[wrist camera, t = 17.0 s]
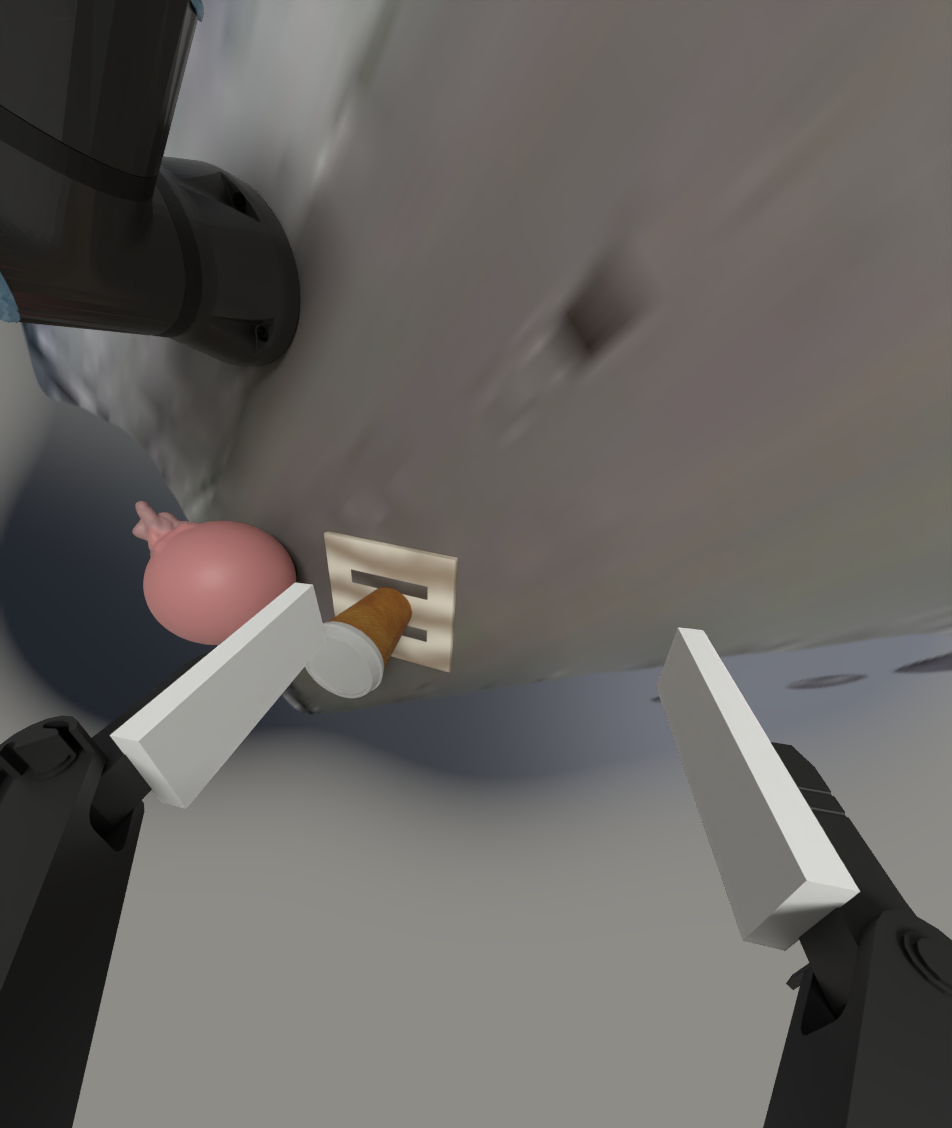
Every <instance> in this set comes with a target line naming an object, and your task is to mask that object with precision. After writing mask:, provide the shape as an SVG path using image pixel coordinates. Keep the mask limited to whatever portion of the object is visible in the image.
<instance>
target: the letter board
mask: <svg viewBox="0 0 952 1128" xmlns="http://www.w3.org/2000/svg"><path fill="white" fill-rule="evenodd" d="M324 538H325V546H326V553H327V560H328V568H329V575H330V582H331V590H332V597H333V604H334V611H335V617H336V616H337V615H339V614H340V613H342V612H343V611H345V610H346V609H348V608H349V607H351V606H352V605H354V604H355V603H357V602H358V601H360V600H361V599H363V598H364V597H366V596H367V595H369V594H370V593H372V592H373V591H374V590H376V589H378V588H381V587H389V588H392V589H395V590H397V591H398V592H400V593H401V594H403V595H404V596H405V597H406V599H407V600H408V601H409V603H410V605H411V609H412V617H411V619H410V621H409V623H408V625H407V627H406V629H405V630H404V632H403V634H402V635H401V638H400V640H399V642H398V644H397V646H396V647H395V649H394V651H393V653H392V655H391V656H392V657H395V658H399V659H402V660H406V661H410V662H413V663H417V664H420V665H424V666H428V667H431V668H435V669H438V670H442V671H445V672H450V670H451V664H452V647H453V631H454V614H455V598H456V581H457V564H458V558H456V557H451V556H446V555H441V554H437V553H432V552H427V551H422V550H417V549H412V548H407V547H402V546H397V545H393V544H388V543H383V542H378V541H373V540H368V539H363V538H358V537H353V536H349V535H344V534H339V533H334V532H329V531H327V532H326V533H324Z"/></svg>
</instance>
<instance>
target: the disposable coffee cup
mask: <svg viewBox="0 0 952 1128" xmlns="http://www.w3.org/2000/svg"><path fill="white" fill-rule="evenodd" d="M411 617H412V609H411V605H410V603H409V601H408V600H407V599H406V597H405V596H404V595H403V594H401V593H400V592H398V591H397V590H395V589H392V588H389V587H381V588H378V589H376V590H374V591H373V592H372V593H370V594H369V595H367V596H366V597H364V598H363V599H361V600H360V601H358V602H357V603H355V604H354V605H352V606H351V607H349V608H348V609H346V610H345V611H343V612H342V613H340V614H339V615H337V616H336V617H334V618H333V619H331V620H330V621H328V622H325V623H323V627H324V631H325V635H326V639H327V640H326V641H325V643H324V644H323V645H322V646H321V647H320V649H319V650H318V651H317V652H316V653H315V655H314V656H313V657H312V658H311V659H310V661H309V662H308V663H307V664H306V665H305V667H306V669H307V671H308V673H309V674H310V675H311V676H312V678H313V679H314V680H315V681H316V682H317V683H318V684H320V685H321V686H322V687H323V688H325V689H326V690H328V691H330V692H332V693H334V694H336V695H338V696H342V697H345V698H358V697H362V696H364V695H366V694H367V693H368V692H370V691H372V690H374V689H375V688H377V687H378V685H379V684H380V682H381V680H382V677H383V671H384V668H385V666H386V664H387V662H388V660H389V659H390V656H391V655H392V653H393V651H394V649H395V647H396V646H397V644H398V642H399V640H400V638H401V635H402V634H403V632H404V630H405V629H406V627H407V625H408V623H409V621H410V619H411Z"/></svg>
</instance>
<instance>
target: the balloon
mask: <svg viewBox="0 0 952 1128" xmlns="http://www.w3.org/2000/svg"><path fill="white" fill-rule="evenodd" d="M135 506H136V510H137V513H138V515H139V517H140V518H141V519H140V521H139V523H137V525H136V526H135V527H134V529H133V534H134V535H135V536H136V537H139V538H141V539H144V540H146V541H148V544H149V549H150V551H151V552H150V556H151V559H150V560H149V563H148V565H147V568H146V571H145V575H144V582H143V588H144V595H145V599H146V602H147V605H148V607H149V609H150V611H151V612H152V614H153V615H154V617H155V618H156V619H157V620H158V621H159V623H161V624H162V625H163V626H164V627H165V628H166V629H168V630H169V631H171V632H172V633H174V634H175V635H177V636H180V637H182V638H184V639H186V640H189V641H192V642H196V643H201V644H208V645H220V644H221V643H222V642H223V641H225V640H226V639H227V638H228V637H230V636H231V635H232V634H233V633H234V632H236V631H237V630H238V629H239V628H240V627H242V626H243V625H244V624H245V623H247V622H248V621H249V620H250V619H251V618H253V617H254V616H255V615H256V614H257V613H259V612H260V611H261V610H262V609H264V608H265V607H266V606H267V605H268V604H270V603H271V602H272V601H273V600H274V599H276V598H277V597H278V596H279V595H280V594H282V593H283V592H284V591H285V590H287V589H288V588H289V587H290V586H291V585H293V584H294V583H296V572H295V568H294V564H293V562H292V559H291V557H290V556H289V554H288V552H287V551H286V549H285V548H284V547H283V546H282V545H281V544H280V543H279V542H278V541H277V540H276V539H275V538H274V537H272V536H271V535H270V534H268V533H266V532H265V531H263V530H261V529H259V528H256V527H254V526H251V525H248V524H244V523H240V522H234V521H211V522H204V523H200V524H199V523H196V522H189V521H179V520H178V519H177V518H176V517H175V516H174V515H172V514H171V513H167V512H163V513H155V512H154V510H153V509H152V508H151V507H149V504H148V503H147V502H144V501H139V502H137V503H136V505H135Z"/></svg>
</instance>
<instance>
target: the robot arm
mask: <svg viewBox="0 0 952 1128" xmlns="http://www.w3.org/2000/svg"><path fill="white" fill-rule="evenodd" d="M203 15H204V9H203V4H202V1H201V0H0V320H2V321H5V322H16V323H17V322H24V323H34V324H44V325H53V326H63V327H73V328H83V329H92V330H102V331H112V332H122V333H131V334H141V335H152V336H160V337H168V338H171V339H173V340H176V341H178V342H180V343H182V344H184V345H187V346H189V347H191V348H193V349H196V350H198V351H200V352H202V353H205V354H207V355H209V356H211V357H214V358H216V359H218V360H220V361H223V362H227V363H231V364H236V365H249V366H260V365H265V364H268V363H270V362H272V361H274V360H275V359H277V358H278V357H279V356H280V355H281V354H282V353H283V352H284V351H285V350H286V348H287V347H288V345H289V344H290V342H291V340H292V338H293V335H294V333H295V329H296V326H297V322H298V316H299V306H300V292H299V281H298V274H297V269H296V264H295V260H294V257H293V253H292V250H291V247H290V245H289V242H288V240H287V237H286V235H285V233H284V231H283V228H282V227H281V225H280V223H279V221H278V219H277V218H276V216H275V214H274V213H273V212H272V210H271V209H270V207H269V206H268V205H267V203H266V202H265V201H264V200H263V199H262V198H261V196H260V195H259V194H258V193H257V192H256V191H254V190H253V189H252V188H251V187H250V186H248V185H247V184H246V183H244V182H243V181H241V180H239V179H238V178H236V177H234V176H233V175H231V174H229V173H227V172H226V171H224V170H222V169H220V168H218V167H216V166H214V165H211V164H209V163H206V162H202V161H196V160H188V159H180V158H172V157H163V154H164V150H165V146H166V142H167V138H168V135H169V131H170V127H171V123H172V119H173V115H174V111H175V107H176V103H177V99H178V95H179V91H180V87H181V83H182V79H183V75H184V72H185V68H186V64H187V60H188V56H189V52H190V48H191V44H192V40H193V36H194V32H195V28H196V24H197V20H199V21H201V22H202V19H203ZM326 640H327V639H326V635H325V631H324V627H323V623H322V619H321V615H320V611H319V607H318V603H317V599H316V595H315V591H314V587H313V585H311V584H303V583H294V584H293V585H291V586H290V587H289V588H288V589H287V590H285V591H284V592H283V593H282V594H280V595H279V596H278V597H277V598H276V599H274V600H273V601H272V602H271V603H270V604H268V605H267V606H266V607H265V608H264V609H262V610H261V611H260V612H259V613H257V614H256V615H255V616H254V617H253V618H251V619H250V620H249V621H248V622H247V623H245V624H244V625H243V626H242V627H240V628H239V629H238V630H237V631H236V632H234V633H233V634H232V635H231V636H230V637H228V638H227V639H226V640H225V641H223V642H222V643H221V644H220V645H219V646H217V647H216V648H215V649H214V650H213V651H211V652H210V653H209V654H203V655H201V656H199V657H197V658H195V659H193V660H192V661H190V662H188V663H186V664H184V665H183V666H182V667H180V668H179V669H178V670H177V671H175V672H174V673H173V674H171V675H170V676H169V677H168V678H167V680H166V681H163V682H161V683H160V684H159V685H158V686H156V687H155V688H154V689H153V692H149V693H148V694H147V695H145V696H144V697H143V698H141V699H140V700H139V701H138V702H136V703H135V704H134V705H133V706H131V708H129V709H128V710H126V711H125V712H124V713H123V714H121V715H120V716H119V717H118V718H116V719H115V720H114V721H113V722H111V723H110V724H109V725H108V726H107V727H105V728H104V729H103V730H101V731H100V732H99V733H98V734H96V735H95V736H94V737H92V738H91V737H90V736H89V735H88V733H87V732H86V731H85V730H84V728H83V727H82V726H81V725H80V724H79V722H78V721H77V720H76V719H74V717H72V716H59V717H53V718H49V719H46V720H43V721H40V722H38V723H35V724H33V725H30V726H29V727H27V728H25V729H23V730H21V731H19V732H17V733H16V734H14V735H13V736H11V737H10V738H9V739H7V740H6V741H5V742H3V743H2V744H0V1128H72V1126H73V1121H74V1117H75V1112H76V1108H77V1103H78V1099H79V1095H80V1090H81V1086H82V1082H83V1077H84V1073H85V1069H86V1064H87V1060H88V1055H89V1051H90V1047H91V1042H92V1038H93V1033H94V1029H95V1025H96V1020H97V1016H98V1012H99V1007H100V1003H101V998H102V994H103V990H104V985H105V981H106V977H107V972H108V968H109V963H110V959H111V955H112V950H113V946H114V942H115V937H116V933H117V928H118V924H119V919H120V915H121V910H122V906H123V902H124V898H125V893H126V889H127V885H128V880H129V876H130V871H131V867H132V863H133V858H134V854H135V850H136V845H137V841H138V836H139V832H140V828H141V823H142V819H143V815H144V803H143V802H142V799H143V798H144V797H145V796H146V795H147V794H148V793H149V792H150V791H151V790H152V791H153V793H154V794H155V795H156V797H157V798H158V799H159V801H160V802H161V803H164V804H169V805H173V806H177V807H181V808H185V809H186V808H187V807H188V806H189V805H190V803H191V802H192V801H193V800H194V799H195V798H196V796H197V795H198V794H199V793H200V792H201V790H202V789H203V788H204V787H205V786H206V784H207V783H208V782H209V781H210V779H211V778H212V777H213V776H214V775H215V774H216V772H217V771H218V770H219V769H220V767H221V766H222V765H223V764H224V763H225V761H226V760H227V759H228V758H229V757H230V756H231V754H232V753H233V752H234V751H235V749H236V748H237V747H238V746H239V745H240V743H241V742H242V741H243V740H244V739H245V737H246V736H247V735H248V734H249V733H250V731H251V730H252V729H253V728H254V727H255V725H256V724H257V723H258V722H259V721H260V719H261V718H262V717H263V716H264V715H265V713H266V712H267V711H268V710H269V709H270V707H271V706H272V705H273V704H274V703H275V701H276V700H277V699H278V698H279V697H280V695H281V694H282V693H283V692H284V691H285V689H286V688H287V687H288V686H289V685H290V683H291V682H292V681H293V680H294V679H295V677H296V676H297V675H298V674H299V673H300V671H301V670H302V669H303V668H304V667H305V665H306V664H307V663H308V662H309V661H310V659H311V658H312V657H313V656H314V655H315V653H316V652H317V651H318V650H319V649H320V647H321V646H322V645H323V644H324V643H325V641H326ZM656 688H657V691H658V693H659V697H660V700H661V703H662V706H663V708H664V711H665V714H666V717H667V720H668V723H669V726H670V729H671V732H672V735H673V738H674V740H675V744H676V746H677V749H678V752H679V755H680V758H681V761H682V764H683V767H684V770H685V773H686V776H687V778H688V782H689V784H690V787H691V790H692V793H693V796H694V799H695V802H696V805H697V808H698V811H699V813H700V816H701V819H702V822H703V825H704V828H705V831H706V834H707V837H708V840H709V843H710V846H711V848H712V852H713V855H714V857H715V860H716V863H717V866H718V869H719V872H720V875H721V878H722V881H723V884H724V886H725V889H726V892H727V895H728V898H729V901H730V904H731V907H732V910H733V913H734V916H735V919H736V922H737V925H738V928H739V930H740V933H741V936H742V939H743V941H747V942H751V943H755V944H759V945H763V946H768V947H772V948H776V949H780V950H784V951H785V950H787V949H788V948H789V947H791V946H792V945H793V944H794V943H796V942H797V941H798V940H800V942H801V945H802V947H803V949H804V951H805V954H806V956H807V958H808V960H809V964H807V965H806V966H804V967H803V968H801V969H800V970H798V971H797V972H796V973H794V974H793V975H792V976H791V977H790V979H789V980H788V981H787V983H786V984H787V985H788V986H789V987H791V989H793V990H794V989H795V988H797V987H799V986H800V988H799V992H798V996H797V1000H796V1004H795V1007H794V1011H793V1016H792V1019H791V1023H790V1027H789V1031H788V1034H787V1038H786V1042H785V1046H784V1050H783V1054H782V1058H781V1062H780V1065H779V1069H778V1073H777V1077H776V1080H775V1084H774V1088H773V1092H772V1096H771V1100H770V1104H769V1107H768V1111H767V1115H766V1119H765V1123H764V1127H763V1128H952V940H951V939H949V938H948V937H947V936H946V935H944V934H943V933H942V932H941V931H939V929H937V928H935V927H934V926H932V925H930V924H929V923H927V922H925V921H924V920H922V919H920V918H918V917H917V916H916V915H915V913H914V912H913V911H912V909H911V908H910V907H909V906H908V904H907V903H906V902H905V900H904V899H903V897H902V896H901V894H900V893H899V891H898V890H897V888H896V887H895V886H894V884H893V883H892V881H891V880H890V878H889V877H888V875H887V874H886V872H885V871H884V869H883V868H882V866H881V865H880V863H879V862H878V860H877V859H876V858H875V856H874V854H873V853H872V851H871V850H870V848H869V847H868V846H867V844H866V843H865V841H864V840H863V838H862V837H861V835H860V834H859V832H858V831H857V829H856V828H855V826H854V825H853V823H852V822H851V820H850V819H849V818H848V817H846V816H845V811H844V810H843V809H842V807H841V806H840V804H839V803H838V801H837V800H836V798H835V797H834V796H832V795H831V791H830V789H829V788H828V786H827V785H826V783H825V782H824V780H823V779H822V777H821V776H820V774H819V773H818V771H817V770H816V769H815V767H814V766H813V765H812V764H811V763H810V762H809V761H807V760H806V759H805V758H804V757H803V756H802V755H801V754H800V753H799V752H798V751H797V750H796V749H795V748H794V747H793V746H792V745H785V744H779V743H773V742H770V741H769V739H768V738H767V736H766V734H765V732H764V731H763V729H762V727H761V726H760V724H759V722H758V721H757V719H756V717H755V716H754V714H753V712H752V711H751V709H750V707H749V706H748V704H747V702H746V701H745V699H744V697H743V696H742V694H741V692H740V691H739V689H738V687H737V686H736V684H735V682H734V681H733V679H732V677H731V676H730V674H729V672H728V671H727V669H726V668H725V666H724V664H723V662H722V661H721V659H720V657H719V656H718V654H717V652H716V651H715V649H714V647H713V646H712V644H711V642H710V641H709V639H708V637H707V636H706V634H705V632H704V631H703V630H696V629H688V628H679V627H678V629H677V631H676V634H675V637H674V640H673V642H672V645H671V648H670V650H669V653H668V656H667V659H666V661H665V664H664V667H663V669H662V672H661V675H660V678H659V680H658V683H657V686H656Z"/></svg>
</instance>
